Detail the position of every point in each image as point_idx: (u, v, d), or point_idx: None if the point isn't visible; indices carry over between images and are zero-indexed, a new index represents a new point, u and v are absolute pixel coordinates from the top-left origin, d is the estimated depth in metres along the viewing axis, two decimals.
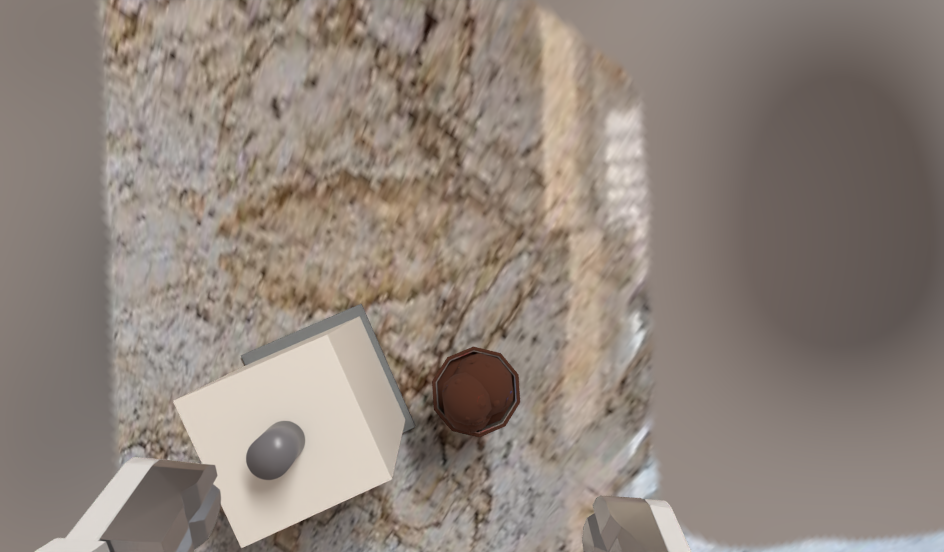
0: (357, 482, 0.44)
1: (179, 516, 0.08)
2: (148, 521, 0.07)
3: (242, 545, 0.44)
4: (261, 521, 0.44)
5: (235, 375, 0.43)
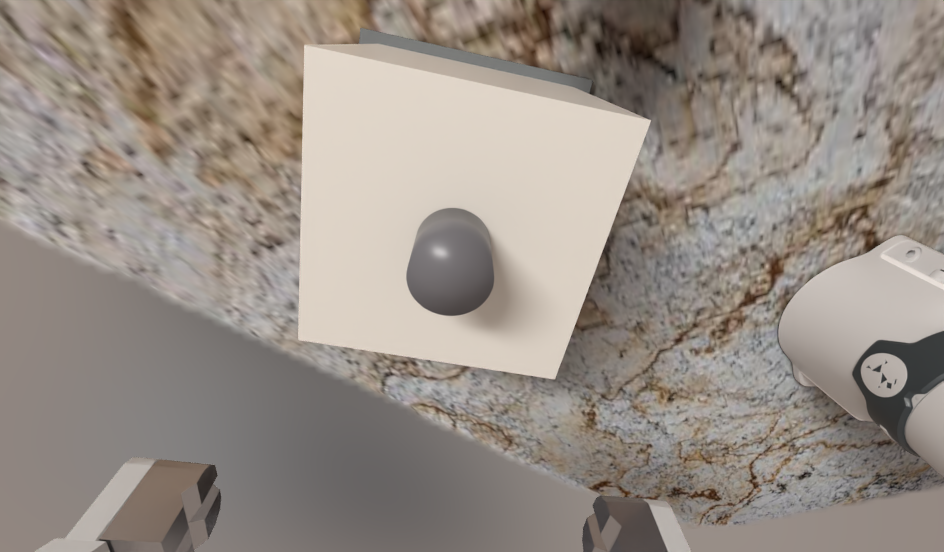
0: (605, 181, 0.22)
1: (179, 516, 0.08)
2: (148, 521, 0.07)
3: (552, 376, 0.28)
4: (542, 340, 0.27)
5: (302, 245, 0.24)
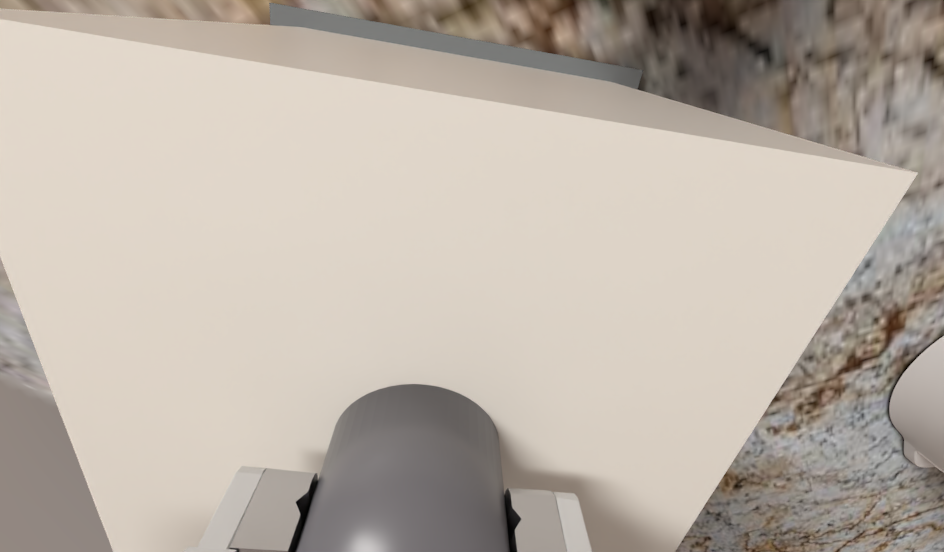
0: (771, 316, 0.09)
1: (297, 524, 0.08)
2: (271, 529, 0.08)
3: None
4: None
5: (84, 465, 0.11)
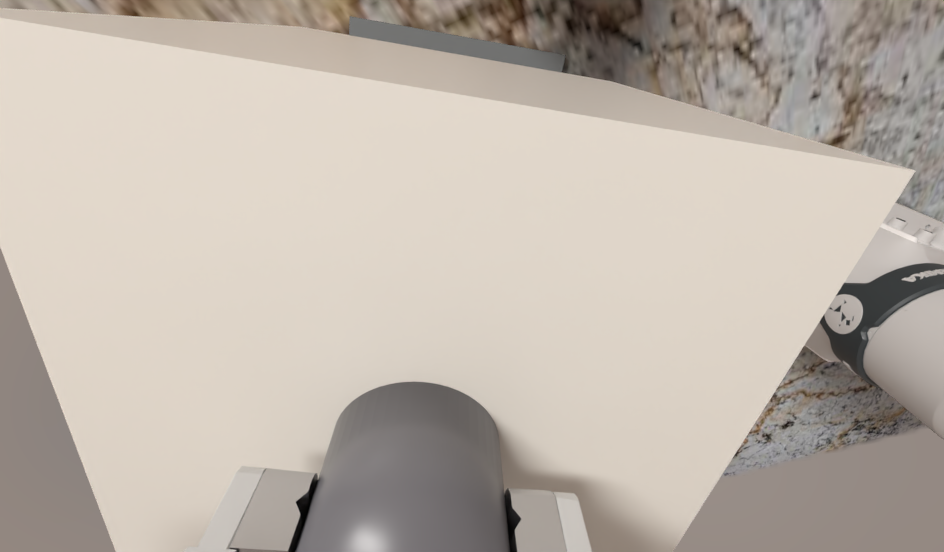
0: (770, 314, 0.09)
1: (297, 524, 0.08)
2: (271, 529, 0.08)
3: None
4: None
5: (86, 463, 0.11)
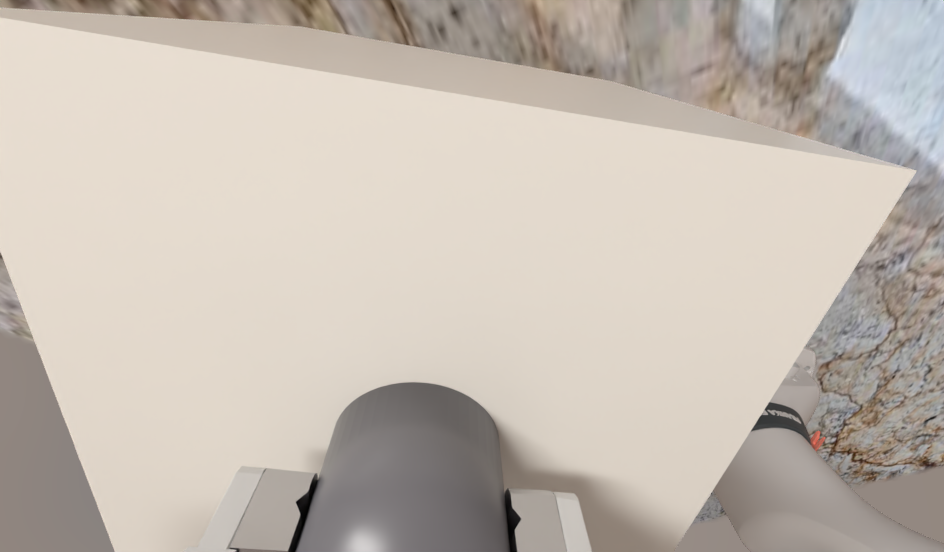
0: (771, 314, 0.09)
1: (297, 524, 0.08)
2: (271, 529, 0.08)
3: None
4: None
5: (86, 463, 0.11)
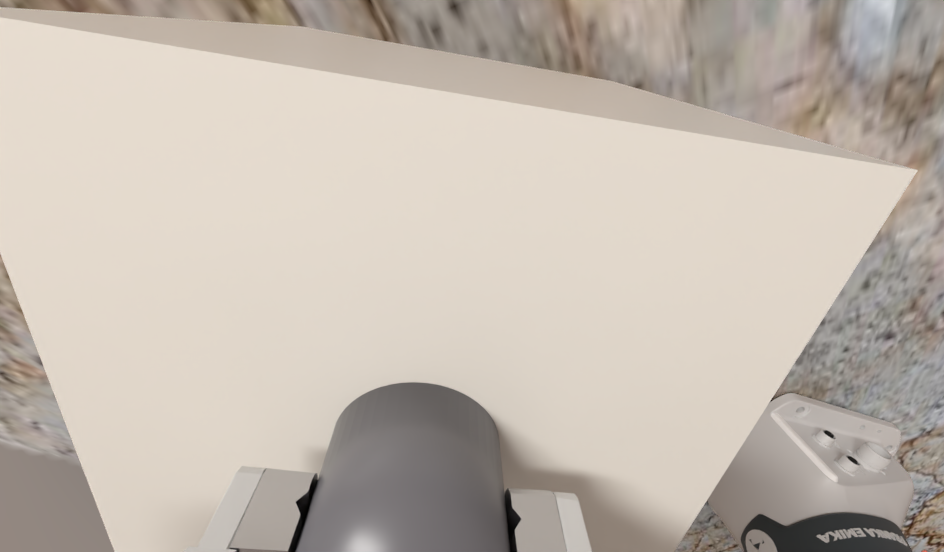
0: (771, 314, 0.09)
1: (297, 524, 0.08)
2: (271, 530, 0.08)
3: None
4: None
5: (85, 464, 0.11)
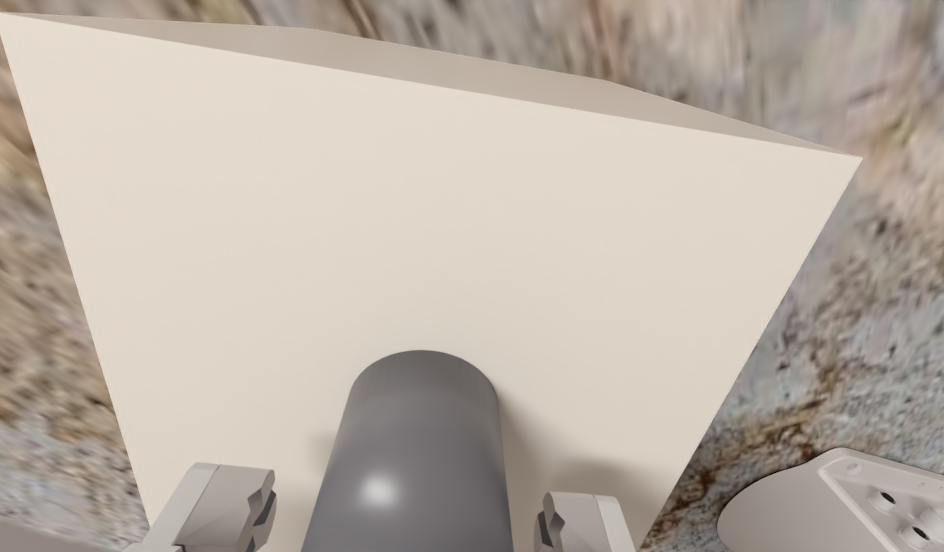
0: (740, 287, 0.10)
1: (247, 521, 0.08)
2: (219, 526, 0.08)
3: None
4: None
5: (123, 426, 0.12)
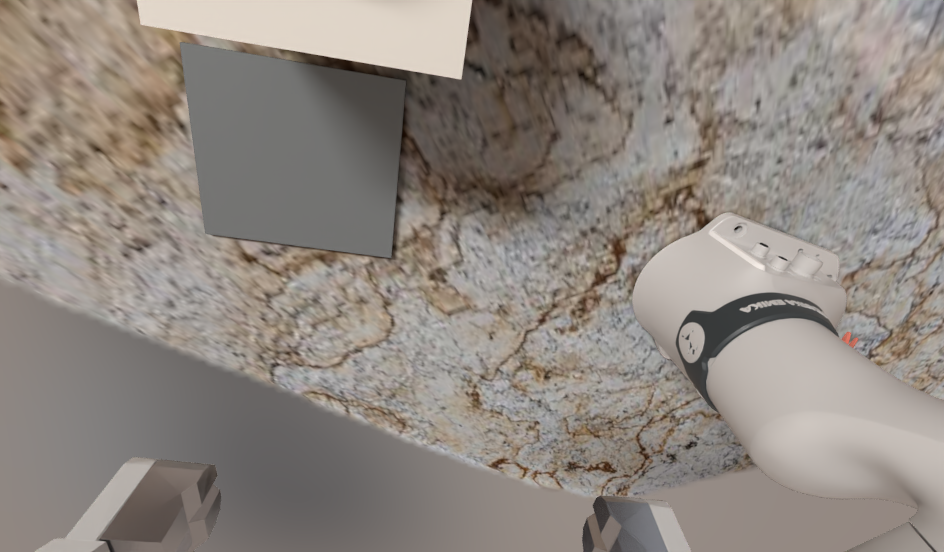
0: None
1: (179, 516, 0.08)
2: (148, 521, 0.07)
3: (458, 75, 0.23)
4: (437, 13, 0.22)
5: None
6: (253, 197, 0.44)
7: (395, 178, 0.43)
